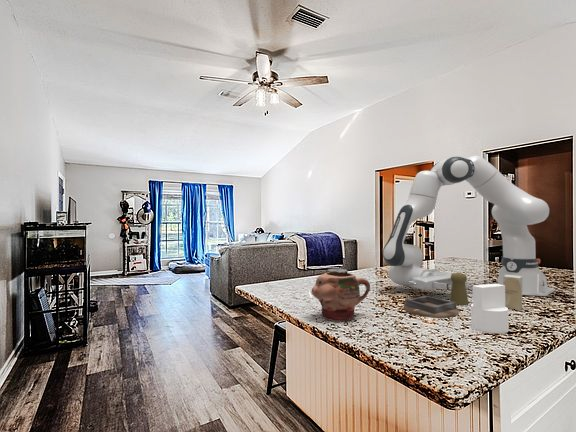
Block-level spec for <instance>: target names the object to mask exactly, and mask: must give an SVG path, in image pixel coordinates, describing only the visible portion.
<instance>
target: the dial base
mask: <svg viewBox="0 0 576 432" xmlns="http://www.w3.org/2000/svg"><path fill="white" fill-rule="evenodd" d="M403 310H404V311H405V312H408V313H410V314H413V315H416V316H420V317H426V318H435V319H436V318H437V319H442V318H443V319H444V318H445V319H446V317H448V318H454V317H457V316H458V315H459V314H460V313H459V312H460V311H459V308H458V307H457V305H456V302H452V301H450V300H447V299H442V298H440V297H439V298H438V297H434V296H430V295H423V296H419V297H418V296H417V297H413V298H412V297H411V298H409V299H408V298H407V299H405V300H404V304H403ZM458 313H459V314H458ZM456 315H457V316H456ZM453 316H454V317H453Z"/></svg>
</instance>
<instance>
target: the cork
mask: <svg viewBox="0 0 576 432" xmlns="http://www.w3.org/2000/svg"><path fill="white" fill-rule="evenodd" d="M451 274H452V275H451V280H452V286H451V291H450V299H449V301H452V302H456V306H459V305H467V306H469V305H468V304H469V298H468V292H467V291H468V290H467V285H466V283H467V280H468V276H467V275H466V274H465V273H462V272H461V273H460V272H454V273H451Z"/></svg>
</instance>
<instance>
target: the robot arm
mask: <svg viewBox="0 0 576 432" xmlns="http://www.w3.org/2000/svg"><path fill="white" fill-rule="evenodd" d="M464 181H466V182H467V183H468V184H469V186H471V187H472V188H473V189H474V190H475V191H476V192H477V193H478V194H479V195H480V196H481V197H482V198H483V199H484V200H485V201H487V202H488V203H491V204H493V207H492V208H491V217H493V219H494V220H495V221H496V223H497V225H498V228H499V231H500V233H501V234H500V235H501V239H502V257H501V268H499V271H498V279H497V284H501V285H503V276H504V275H515V276H522V277H523V278H522V296H539V297H548V296H549V295H550V294H552V293H553V292H555V288H554V287H549V286H548V280H547V276H546V275H545V274H544V272H542V270H540V269H539V264H541V259H540V258H537V257H536V253H537V251H536V239H535V237H534V236H532V234H531V232H530V231H529V228H528V225H529V226H532V225H536V224H539V223H542V222H544V221H546V220H547V218H548V217H549V215H550V207H549V204H548V203H547V202H546V201H545V200H543V199H541V198H538V197H535V196H534V195H531V194H529V193H528V192H527V191H524V190H523V189H521V188H520V187H518V186H516V185H515V184H514V183H512V182H511V181H510V180H509V179H508V178H507V177H505V176H504V175H503V174H502V173H501V171H500V170H498V169H497V168H496V167H495V166H494V165H493V164H492V163H490V162H489V161H488V160H486V159H485V158H483V157H482V156H479V155H471V156H469V157H467V158H465V157H462V156H451V157H448V158H447V157H446V158H444V159H442V160H441V161H439V162H436V163H434V165H432V167H431V168H430V169H429V170H422V171H419V172H418V173H416V174H415V177H414V179H413V181H412V184H411V187H410V191H409V194H408V198H407V200H406V202H405V204H404V205H403V206H402V207H401V208H400V210H399V212H398V213H397V216H396V219H395V222H394V224H393V227H392V229H391V233H390V235H389V237H388V240H387V242H386V243H385V245H384V246H383V249H382V257H383V259H384V260H383V261H384V262H385V263H386V265H388V266H389V267H388V277H389V279H390V281H391V282H393V283H394V284H396V285H399V286H403V287H408V288H409V287H411V288H413V289H416V290H420V291H425V292H426V291H430V290H437V289H443V290H447V289H449V287H452V280H451V275H452V274H453V273H449V272H445V271H441V270H439V269H432V268H431V269H430V268H424V267H422V266H423V261H424V252H423V250H422V248H421V247H420V246H418V245H414V244H409V243H408V244H407V243H405V240H406V237H407V234H408V232H409V230H410V229H409V228H410V226H411V224H412V223H413V222H415V221H417V220H419V219H423V218H426V217H428V216H429V215H431V214H432V212H433V211H434V209H435V207H436V204H437V200H438V195H439V191H440V189H441V187H442V186H450V185H454V184H458V183H461V182H464Z"/></svg>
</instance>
